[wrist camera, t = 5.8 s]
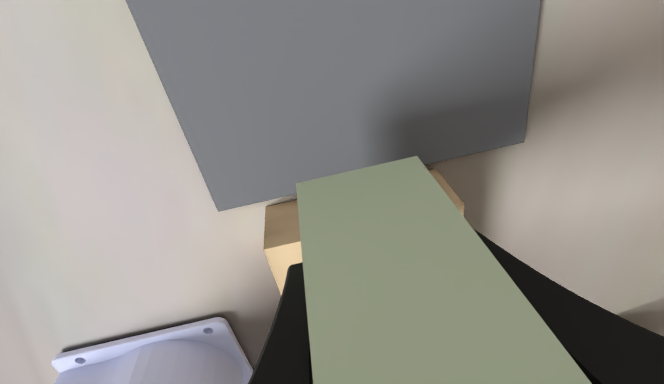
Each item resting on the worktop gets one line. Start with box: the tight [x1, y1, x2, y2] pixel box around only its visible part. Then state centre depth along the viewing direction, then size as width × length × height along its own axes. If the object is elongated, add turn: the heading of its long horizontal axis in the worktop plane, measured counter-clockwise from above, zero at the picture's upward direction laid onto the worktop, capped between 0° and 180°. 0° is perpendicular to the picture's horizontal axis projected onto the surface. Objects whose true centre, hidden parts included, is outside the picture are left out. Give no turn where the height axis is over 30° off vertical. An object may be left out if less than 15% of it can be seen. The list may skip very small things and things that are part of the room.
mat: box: [126, 0, 541, 212], centre depth 14 cm, size 14×10×1 cm
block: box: [296, 156, 592, 384], centre depth 9 cm, size 4×4×8 cm
